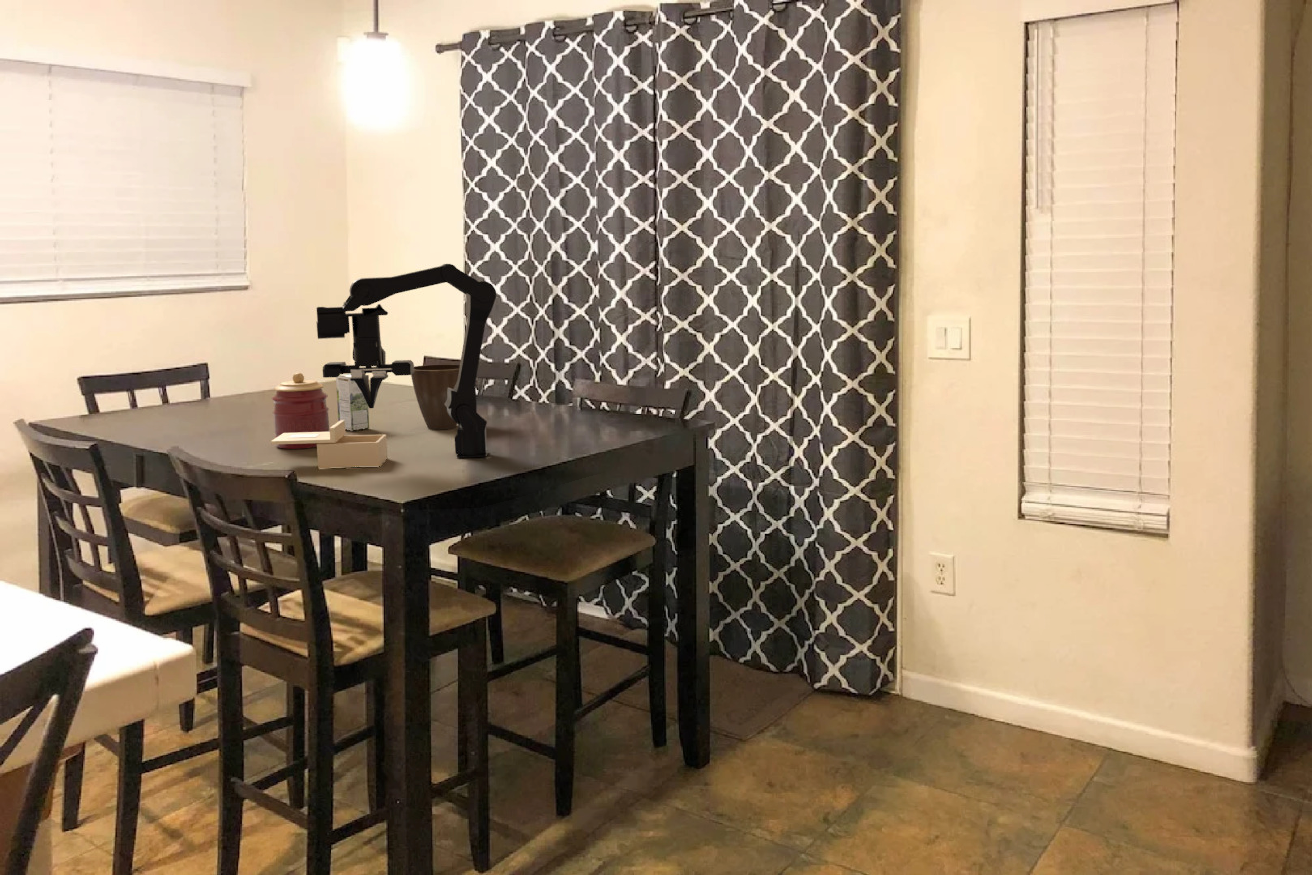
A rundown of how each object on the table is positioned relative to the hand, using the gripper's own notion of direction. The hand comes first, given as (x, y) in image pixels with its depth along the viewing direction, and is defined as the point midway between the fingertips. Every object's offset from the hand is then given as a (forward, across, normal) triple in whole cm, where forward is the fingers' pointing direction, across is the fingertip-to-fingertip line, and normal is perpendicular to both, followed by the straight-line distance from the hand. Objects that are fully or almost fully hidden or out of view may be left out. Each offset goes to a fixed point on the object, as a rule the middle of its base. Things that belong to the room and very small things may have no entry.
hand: (371, 408), depth 241 cm
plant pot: (+12, -9, -46) cm, 49 cm away
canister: (+12, +22, -26) cm, 37 cm away
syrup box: (+12, +14, -47) cm, 51 cm away
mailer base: (+12, +5, 0) cm, 13 cm away
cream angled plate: (+7, +14, 0) cm, 15 cm away
